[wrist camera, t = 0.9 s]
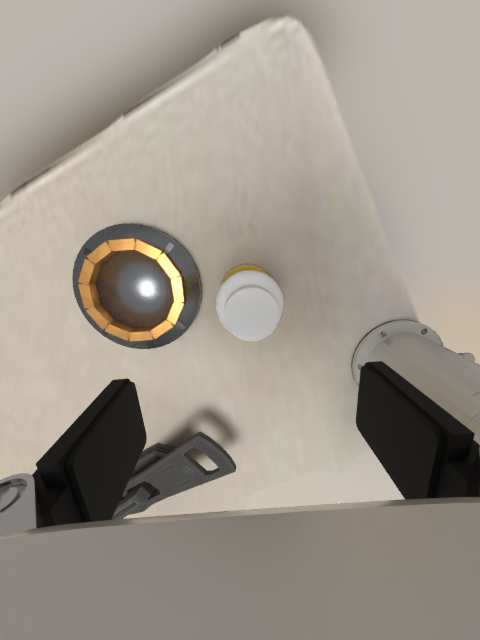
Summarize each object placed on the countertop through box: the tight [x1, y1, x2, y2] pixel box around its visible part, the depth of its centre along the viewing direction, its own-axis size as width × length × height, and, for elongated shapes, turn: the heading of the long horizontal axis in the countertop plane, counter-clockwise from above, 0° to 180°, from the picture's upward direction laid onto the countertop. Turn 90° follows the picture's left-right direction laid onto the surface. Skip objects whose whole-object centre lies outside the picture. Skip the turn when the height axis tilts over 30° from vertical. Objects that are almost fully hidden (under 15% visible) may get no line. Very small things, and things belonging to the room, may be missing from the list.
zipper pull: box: [111, 432, 236, 520], centre depth 37 cm, size 9×7×25 cm
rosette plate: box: [73, 224, 201, 349], centre depth 30 cm, size 16×16×3 cm
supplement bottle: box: [216, 264, 284, 341], centre depth 26 cm, size 7×7×13 cm
